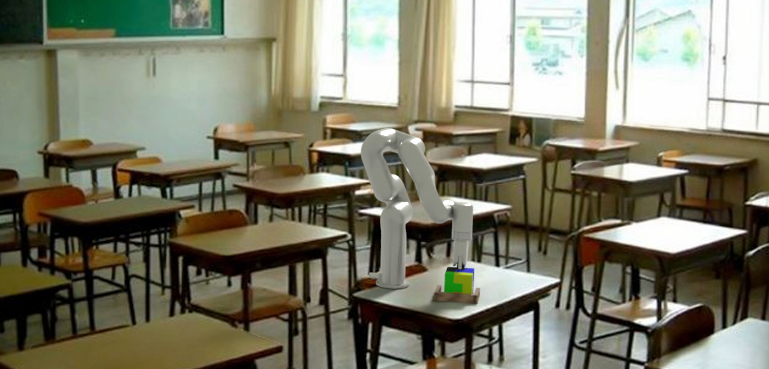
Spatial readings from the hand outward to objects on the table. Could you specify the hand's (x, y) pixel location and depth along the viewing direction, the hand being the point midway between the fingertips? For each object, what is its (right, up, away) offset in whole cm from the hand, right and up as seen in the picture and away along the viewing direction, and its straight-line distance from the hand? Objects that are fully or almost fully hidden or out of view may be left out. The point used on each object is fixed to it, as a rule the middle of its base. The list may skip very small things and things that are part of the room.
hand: (460, 283), depth 402 cm
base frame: (-2, -5, -9) cm, 10 cm away
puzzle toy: (-1, -5, -7) cm, 9 cm away
